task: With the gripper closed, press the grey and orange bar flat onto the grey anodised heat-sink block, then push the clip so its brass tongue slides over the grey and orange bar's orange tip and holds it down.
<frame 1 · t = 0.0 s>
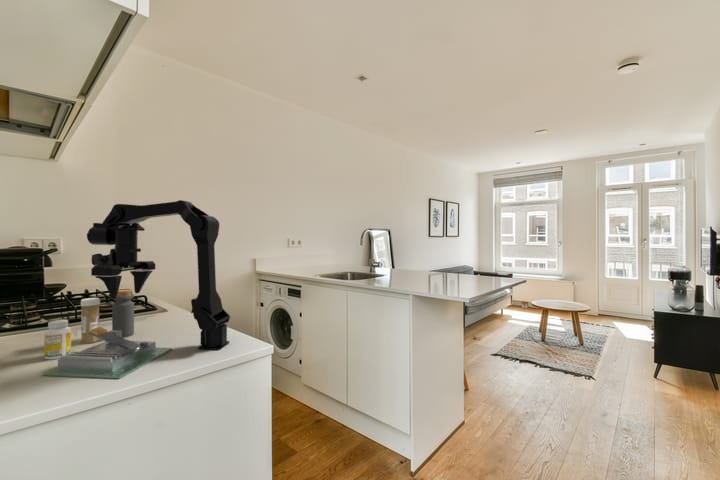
hand: (125, 295, 100), 15 cm above the countertop, fingers open, 9 cm apart
clip: (109, 337, 90), point 5 cm above the countertop, slide at 0.0 cm
sprinkles bottle: (90, 342, 101), on the countertop
bottle: (123, 335, 107), on the countertop
grey and orange bar: (116, 339, 85), point 6 cm above the countertop, hinge at 20.0°
heatsink: (114, 361, 85), on the countertop
supplement bottle: (58, 356, 89), on the countertop
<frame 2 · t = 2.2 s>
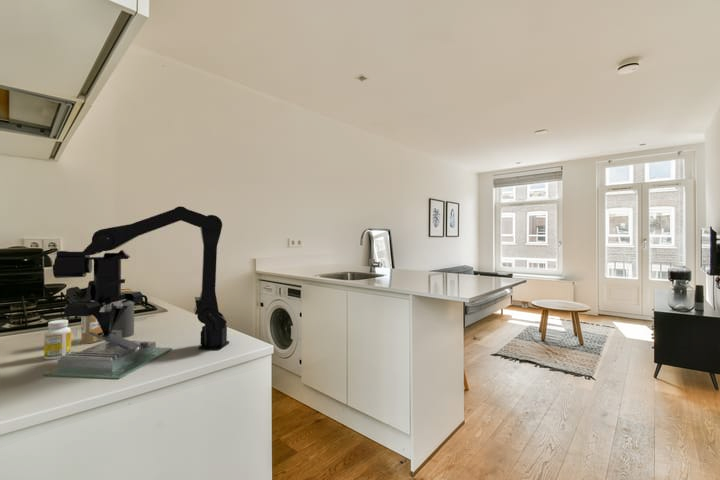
hand: (107, 334, 86), 7 cm above the countertop, fingers closed, pressing on grey and orange bar
grey and orange bar: (116, 339, 85), point 6 cm above the countertop, hinge at 20.0°, touching gripper
everything else where it was.
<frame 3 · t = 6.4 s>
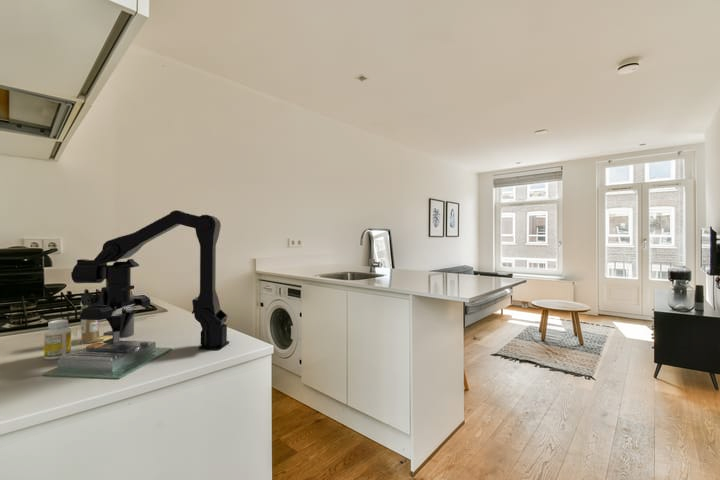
hand: (118, 336, 93), 4 cm above the countertop, fingers closed
clip: (106, 338, 89), point 5 cm above the countertop, slide at 0.8 cm, touching gripper
grey and orange bar: (115, 347, 85), point 4 cm above the countertop, hinge at 0.3°
everything else where it was.
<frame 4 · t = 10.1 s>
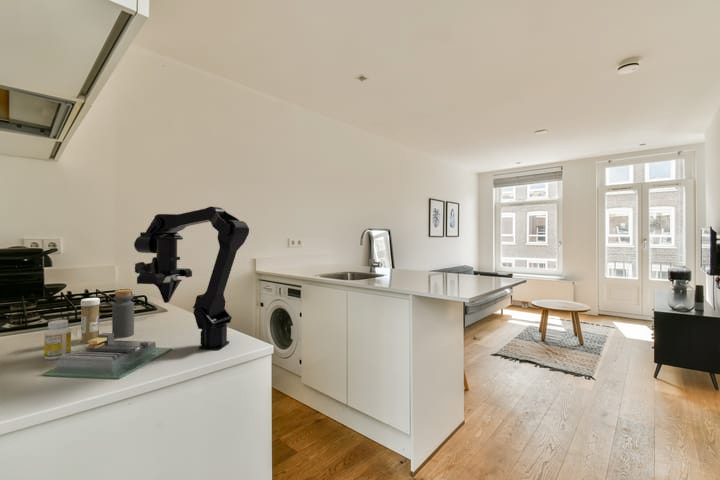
hand: (166, 302, 103), 12 cm above the countertop, fingers closed
clip: (101, 341, 87), point 5 cm above the countertop, slide at 2.7 cm
everything else where it was.
at the end: grey and orange bar at +0° (first picture: +20°); clip slide at 2.7 cm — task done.
